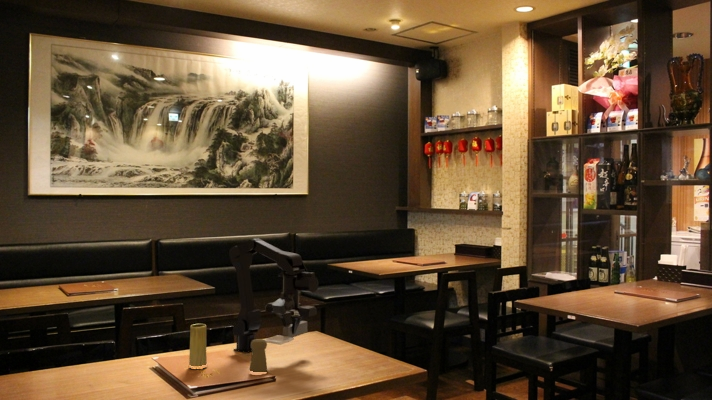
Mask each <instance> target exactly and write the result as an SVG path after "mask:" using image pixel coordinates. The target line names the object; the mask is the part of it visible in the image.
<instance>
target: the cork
mask: <svg viewBox="0 0 712 400" xmlns="http://www.w3.org/2000/svg"><path fill="white" fill-rule="evenodd" d="M264 339H265V338H264ZM264 339H263V338H255V340H253V341H252V342H251V348H252V351H251V356H250V357H251V358H250V364H249V370H250V371H253V372H267V374H268V364H267V356H266V348H267V345H268V343H266V341H265V340H264Z"/></svg>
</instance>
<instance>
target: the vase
mask: <svg viewBox="0 0 712 400" xmlns="http://www.w3.org/2000/svg"><path fill="white" fill-rule="evenodd" d="M189 335H190V336H189V356H188V357H189V358H188V361H189V362H188V366H189V365H191V366H202V365H206V364H207V365H208V363H207V362H208V361H207V325H206V324H205V323H195V324H194V323H193V324H191V325H190V334H189Z"/></svg>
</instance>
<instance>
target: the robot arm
mask: <svg viewBox="0 0 712 400" xmlns="http://www.w3.org/2000/svg"><path fill="white" fill-rule="evenodd" d="M257 253H258V254H260V255H262V256H264V257H266V258H268V259H270V260H272V261H274V262H275V263H276V266H277V267H279V269H281V272H280V273H278V277H282V278H283V279H282V292H280V295H279V298H278V299H277V300H275V301H273V302H268V303H266V305H265V312H266V313H274V314H275V315H276V316H277V317H279V318H280V320H281V322H282V325H283V327H284V326H287V325H290V324H292V334H295V332H296V330H297V328H298V326H299V324H300V322H301V321H303V320H302V319H303V318H310V317H313V316H316V315H318V311H317V308H316V306H313V305H312V306H311V305H305V306H302V303H300V296H301V295H302V292H307V293H312V294H313V293H315V292H317V290H318V288H319V278H317V276H316V273H315V272H309V271H308V269H307V266H306V265H305V263H304V261H303V259H302V256H301V255H300V254H298V253H294V252H289V251H284V250H282V249H280V248H278V247H276V246H274V245H272V244H270V243H268V242H266V241H264V240H263V239H261V238H251V239H249V240H247V241H245V242H243V243H241V244H238V245H234V246H232V247H231V249H230V250H229V253H228V254H229V259H230V263H231V265H232V266H233V268H234V269H235V270H236V278H237V279H236V280H237V285H238V287H237V288H238V293H239V302H240V310H239V313H238V315H237V323H236V324H235V326H234V327H232V330H231V331H232V335H233V336H236V345H235V346H236V347H235V348H233V351H234V352H235V351H236V352H239V353H246V354H247V353H250V352H251V353H252V348H251V342H252V341H253V340H255V339H256V335H255V334H257V333H259V330H260V327H261V326H262V321H263V318H262V311H261V309H257V308H256V306H255V302H254V295H253V294H254V293H253V285H252V277H251V269H250V268H251V266H252V263H253V256H254V255H255V254H257ZM292 313H293V315H292ZM291 321H292V322H291Z"/></svg>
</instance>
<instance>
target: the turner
mask: <svg viewBox="0 0 712 400" xmlns="http://www.w3.org/2000/svg"><path fill="white" fill-rule="evenodd" d="M307 333H308V321H306V320H301V322H300V324H299V326H298V328H297V330H296V332H295V334H292V323H290V325H287V326H284V325H283V327H282V335H280V334H279V335H278V334H277V335H274V336H271V337H268V338H264V340H265V341H266V343H267V344H273V345H280V346H281V345H283V344H286V343H290V342H292V341H294V340H295V339H294V338H296V337H298V336H301V335H303V334H307Z"/></svg>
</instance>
